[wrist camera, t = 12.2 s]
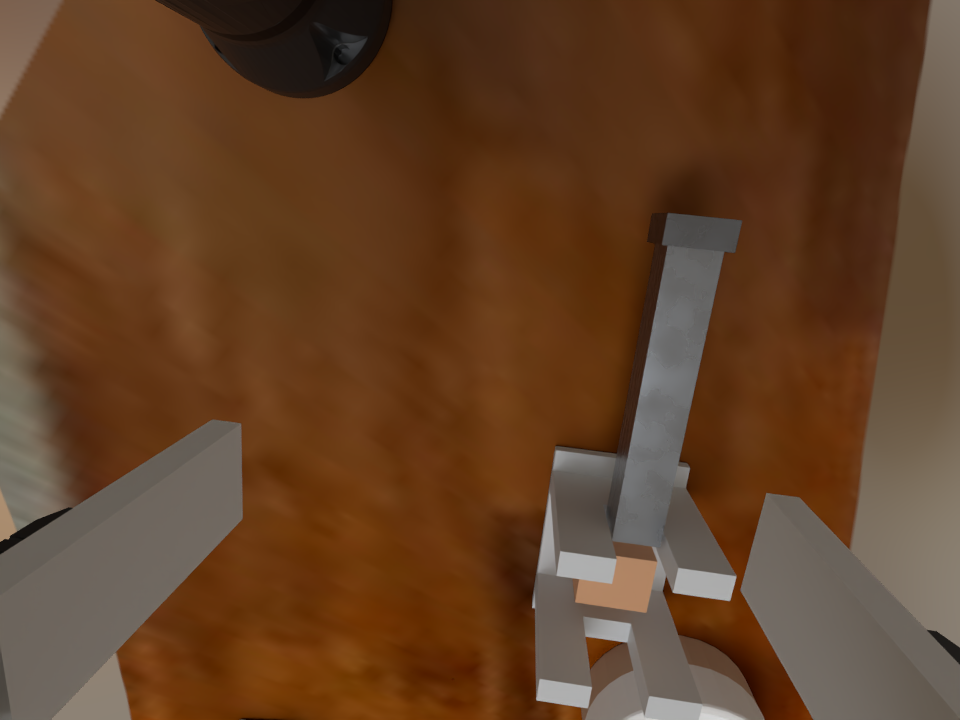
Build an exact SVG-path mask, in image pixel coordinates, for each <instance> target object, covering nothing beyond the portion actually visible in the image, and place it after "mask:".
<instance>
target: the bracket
mask: <svg viewBox="0 0 960 720" xmlns="http://www.w3.org/2000/svg"><path fill="white" fill-rule="evenodd" d="M616 456H617V454H614V453H607V452H599V451H591V450H584V449H576V448H568V447H561V446H555V453H554V459H553V466H552V472H551V479H550V486H549V492H548V499H547V506H546V512H545V519H544V526H543V532H542V539H541V546H540V552H539V559H538V566H537V572H536V579H535V586H534V592H533V599H532V608H535V641H536V700H538V701H545V702H551V703H557V704H563V705H570V706H576V707H582V708H588V705H589V700H590V695H591V690H592V683H591V675H590V668H589V660H588V653H587V645H586V637H585V636H587V637H593V638H600V639H607V640H613V641H620V642H627V644H628V649H629V653H630V657H631V662H632V666H633V670H634V675H635V679H636V684H637V688H638V692H639V697H640V701H641V705H642V710H643V714H644V717H645V718H652V719H658V720H699V717H700V713H701V709H702V705H703V704H702V701H701V698H700V695H699V692H698V690H697V687H696V684H695V681H694V678H693V676H692V673H691V670H690V667H689V664H688V661H687V659H686V656H685V653H684V650H683V647H682V645H681V642H680V639H679V636H678V633H677V630H676V628H675V625H674V622H673V619H672V616H671V614H670V611H669V608H668V605H667V602H666V599H665V597H664V594H663V587H664V583H665V578H666V576H667V579H668V581H669V584H670V587H671V589H672V592H673V593H678V594H685V595H692V596H699V597H706V598H713V599H719V600H726V601H730V599H731V595H732V591H733V588H734V584H735V580H736V575H735V573H734V571H733V569H732V568H731V566H730V564H729V562H728V561H727V559H726V557H725V555H724V554H723V552H722V550H721V548H720V547H719V545H718V543H717V542H716V540H715V538H714V536H713V535H712V533H711V531H710V529H709V528H708V526H707V524H706V522H705V521H704V519H703V517H702V515H701V514H700V512H699V510H698V508H697V507H696V505H695V503H694V502H693V500H692V498H691V496H690V495H689V493H688V491H687V489H686V484H687V480H688V476H689V471H690V467H689V465H688V464H687V463H683V462H679V463H678V467H677V472H676V476H675V481H674V486H673V490H672V495H671V499H670V504H669V509H668V513H667V518H666V523H665V527H664V532H663V536H662V541H661V546H660V548H658V547H652V548H653V551H654V554H655V557H656V559H657V566H656V571H655V575H654V580H653V585H652V589H651V594H650V598H649V603H648V608H647V612H646V613H643V612H637V611H630V610H623V609H616V608H610V607H603V606H596V605H589V604H583V603H576V602H575V597H574V589H573V580H572V578H574V579H581V580H588V581H595V582H602V583H609V584H612V582H613V577H614V571H615V566H616V561H617V558H616V554H615V550H614V546H613V542H612V538H611V534H610V530H609V526H608V522H607V519H606V510H607V505H608V499H609V494H610V488H611V483H612V478H613V472H614V467H615V461H616Z"/></svg>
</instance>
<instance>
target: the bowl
mask: <svg viewBox="0 0 960 720" xmlns="http://www.w3.org/2000/svg"><path fill="white" fill-rule="evenodd" d="M678 636H679V639H680V642H681V645H682V647H683V650H684V653H685V656H686V659H687V661H688V664H689V667H690V670H691V673H692V676H693V678H694V681H695V684H696V687H697V690H698V692H699V695H700V698H701V701H702V704H703V705H702V709H701V713H700V717H699V720H765V719H764V717H763V715H762V713H761V711H760V709H759V707H758V705H757V703H756V701H755V699H754V697H753V695H752V692H751V690H750V688H749V686H748V684H747V682H746V680H745V678H744V676H743V675H742V673H741V671H740V670H739V668H738V667H737V666H736V665H735V664H734V663H733V662H732V660H731V659H730V658H729V657H728V656H727V655H725V654H724V653H722V652H721V651H719V650H718V649H716V648H715V647H713V646H711V645H709V644H707V643H705V642H702V641H700V640H697V639H693V638H689V637H686V636H680V635H678ZM590 675H591V683H592V690H591V695H590V700H589V705H588V708H582V707H581V711H582V720H658V719H652V718H645V717H644V714H643V710H642V705H641V701H640V697H639V692H638V688H637V684H636V679H635V675H634V670H633V666H632V662H631V657H630V653H629V649H628V644H627V642H624V643H622V644H620V645H617V646H616V647H614V648H613V649H611V650H610V651H608V652H607V653H605V654H604V655H603V656H602V657H601V658H600V659H599V660H598V661H597V662H596V663H595V664H594V665H593V667H592V668H591V670H590Z"/></svg>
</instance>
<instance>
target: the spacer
mask: <svg viewBox="0 0 960 720" xmlns="http://www.w3.org/2000/svg"><path fill="white" fill-rule="evenodd" d="M612 542H613V546H614V550H615V554H616V558H617V561H616V566H615V571H614V577H613V582H612V584H609V583H602V582H595V581H588V580H581V579H574V578H572V580H573V589H574V597H575V602H576V603H583V604H589V605H596V606H603V607H610V608H616V609H623V610H630V611H637V612H643V613H646V612H647V608H648V603H649V598H650V594H651V589H652V585H653V580H654V575H655V571H656V566H657V559H656V557H655V554H654V551H653V548H652V547H651V546H644V545H637V544H630V543H623V542H615V541H612Z"/></svg>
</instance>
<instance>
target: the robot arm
mask: <svg viewBox="0 0 960 720" xmlns="http://www.w3.org/2000/svg"><path fill="white" fill-rule="evenodd" d="M156 1H157V2H159V3H161V4H163V5H165V6H166V7H168V8H170V9H172V10H174V11H175V12H177V13H179V14H181V15H183V16H184V17H186V18H188V19H190V20H192V21H193V22H195V23H197V24H199V25H200V27H201V29H202V31H203V33H204V34H205V36H206V38H207V39H208V41H209V42H210V44H211V45H212V47H213V48H214V49H215V51H216V52H217V53H218V54H219V56H220V57H221V58H222V59H223V60H224V61H225V62H226V63H227V64H228V65H229V66H230V67H231V68H232V69H233V70H235V71H236V72H237V73H238V74H240V75H241V76H243V77H244V78H246V79H247V80H249V81H251V82H252V83H254V84H256V85H258V86H260V87H262V88H264V89H267V90H269V91H271V92H273V93H276V94H279V95H282V96H287V97H293V98H314V97H320V96H324V95H327V94H330V93H333V92H335V91H337V90H339V89H341V88H343V87H345V86H347V85H348V84H349V83H351V82H352V81H354V80H355V79H356V78H357V77H358V76H359V75H360V74H361V73H362V72H363V71H364V70H365V69H366V68H367V67H368V66H369V64H370V63H371V62H372V60H373V59H374V57H375V55H376V54H377V52H378V50H379V48H380V46H381V44H382V42H383V40H384V37H385V34H386V31H387V28H388V24H389V20H390V14H391V7H392V0H156ZM242 519H243V516H242V450H241V423H234V422H226V421H219V420H211V421H209V422H208V423H206V424H205V425H203V426H202V427H200V428H198V429H197V430H195V431H194V432H192V433H191V434H189V435H187V436H186V437H184V438H183V439H181V440H180V441H178V442H176V443H175V444H173V445H172V446H170V447H169V448H167V449H165V450H164V451H162V452H161V453H159V454H158V455H156V456H154V457H153V458H151V459H150V460H148V461H147V462H145V463H143V464H142V465H140V466H139V467H137V468H136V469H134V470H132V471H131V472H129V473H128V474H126V475H125V476H123V477H121V478H120V479H118V480H117V481H115V482H114V483H112V484H110V485H109V486H107V487H106V488H104V489H103V490H101V491H99V492H98V493H96V494H95V495H93V496H92V497H90V498H88V499H87V500H85V501H84V502H82V503H81V504H79V505H77V506H76V507H74V508H69V507H68V508H66V509H63V510H61V511H58V512H55V513H53V514H50V515H48V516H45V517H42V518H40V519H37V520H35V521H34V522H32V523H30V524H29V525H27V526H26V527H24V528H22V529H21V530H19V531H17V532H16V533H14V534H12V535H11V536H10V538H9V539H8V540H7V539H4V540H3V541H1V542H0V720H51V719H52V718H53V717H54V716H55V715H56V714H57V713H58V712H59V711H60V710H61V708H63V706H64V705H65V704H66V703H67V702H68V701H69V700H70V699H71V698H72V697H73V696H74V695H75V694H76V693H77V692H78V691H79V690H80V689H81V688H82V687H83V686H84V684H85V683H86V682H87V681H88V680H89V679H90V678H91V677H92V676H93V675H94V674H95V673H96V672H97V671H98V670H99V669H100V668H101V667H102V666H103V664H105V662H106V661H107V660H108V659H109V658H110V657H111V656H112V655H113V654H114V653H115V652H116V651H117V650H118V649H119V648H120V647H121V646H122V645H123V644H124V643H125V642H126V640H127V639H128V638H129V637H130V636H131V635H132V634H133V633H134V632H135V631H136V630H137V629H138V628H139V627H140V626H141V625H142V624H143V623H144V622H145V621H146V620H147V618H148V617H149V616H150V615H151V614H152V613H153V612H154V611H155V610H156V609H157V608H158V607H159V606H160V605H161V604H162V603H163V602H164V601H165V600H166V599H167V597H168V596H169V595H170V594H171V593H172V592H173V591H174V590H175V589H176V588H177V587H178V586H179V585H180V584H181V583H182V582H183V581H184V580H185V579H186V578H187V577H188V575H189V574H190V573H191V572H192V571H193V570H194V569H195V568H196V567H197V566H198V565H199V564H200V563H201V562H202V561H203V560H204V559H205V558H206V557H207V556H208V554H209V553H210V552H211V551H212V550H213V549H214V548H215V547H216V546H217V545H218V544H219V543H220V542H221V541H222V540H223V539H224V538H225V537H226V536H227V535H228V534H229V532H230V531H231V530H232V529H233V528H234V527H235V526H236V525H237V524H238V523H239V522H240V521H241V520H242ZM741 592H742V594H743V596H744V597H745V599H746V601H747V603H748V604H749V606H750V608H751V610H752V611H753V613H754V615H755V617H756V619H757V620H758V622H759V624H760V626H761V627H762V629H763V631H764V633H765V635H766V636H767V638H768V640H769V642H770V643H771V645H772V647H773V649H774V650H775V652H776V654H777V656H778V658H779V659H780V661H781V663H782V665H783V666H784V668H785V670H786V672H787V673H788V675H789V677H790V679H791V681H792V682H793V684H794V686H795V688H796V689H797V691H798V693H799V695H800V697H801V698H802V700H803V702H804V704H805V705H806V707H807V709H808V711H809V712H810V714H811V716H812V718H813V720H960V648H959V647H958V646H957V645H955V644H954V643H952V642H951V641H950V640H948V639H947V638H945V637H944V636H942V635H941V634H940V633H938V632H937V631H931V630H926V629H925V628H924V627H923V626H922V625H921V624H920V623H919V622H918V621H917V620H916V619H915V618H914V617H913V616H912V614H911V613H910V612H909V611H908V610H907V609H906V608H905V607H904V606H903V605H902V604H901V603H900V602H899V601H898V600H897V599H896V598H895V597H894V596H893V595H892V594H891V593H890V592H889V591H888V590H887V589H886V587H885V586H884V585H882V583H881V582H880V581H879V580H878V579H877V578H876V577H875V576H874V575H873V574H872V573H871V572H870V571H869V570H868V569H867V568H866V567H865V566H864V565H863V564H862V563H861V561H860V560H859V559H858V558H857V557H856V556H855V555H854V554H853V553H852V552H851V551H850V550H849V549H848V548H847V547H846V546H845V545H844V544H843V543H842V542H841V541H840V540H839V538H838V537H837V536H836V535H835V534H834V533H833V532H832V531H831V530H830V529H829V528H828V527H827V526H826V525H825V524H824V523H823V522H822V521H821V520H820V519H819V518H818V517H817V516H816V515H815V514H814V512H813V511H812V510H811V509H810V508H809V507H808V506H807V505H806V504H805V503H804V502H803V501H802V500H801V499H800V498H799V497H792V496H784V495H777V494H769V493H766V497H765V501H764V504H763V508H762V512H761V516H760V519H759V523H758V527H757V530H756V534H755V538H754V542H753V545H752V549H751V553H750V557H749V560H748V564H747V568H746V572H745V575H744V579H743V583H742V587H741Z"/></svg>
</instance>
